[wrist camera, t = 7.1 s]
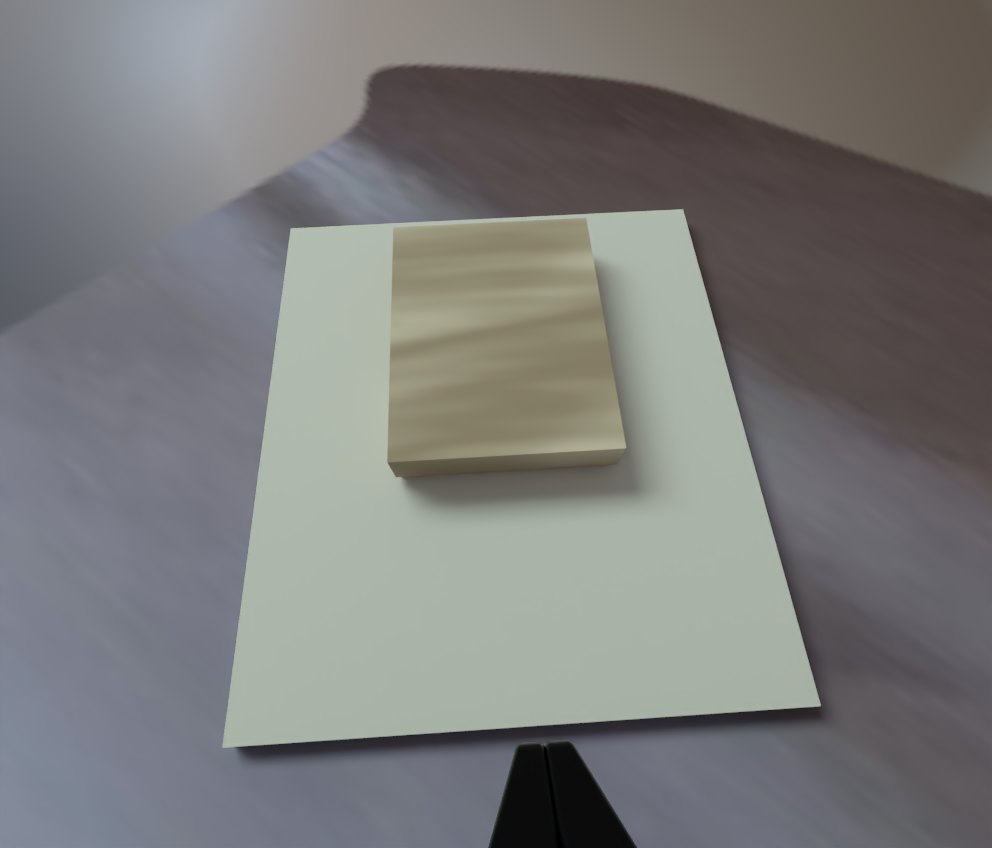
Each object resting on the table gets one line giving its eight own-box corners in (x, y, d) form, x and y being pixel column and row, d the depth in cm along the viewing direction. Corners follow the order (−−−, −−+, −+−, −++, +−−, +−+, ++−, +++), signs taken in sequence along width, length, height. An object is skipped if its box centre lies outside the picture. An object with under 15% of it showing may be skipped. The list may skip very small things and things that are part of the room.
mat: (808, 704, 14) (821, 706, 14) (233, 744, 14) (222, 747, 14) (678, 220, 22) (682, 209, 21) (296, 239, 21) (291, 228, 21)
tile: (626, 448, 15) (586, 217, 19) (387, 462, 15) (393, 227, 19) (614, 467, 17) (579, 251, 20) (397, 480, 17) (401, 260, 20)
